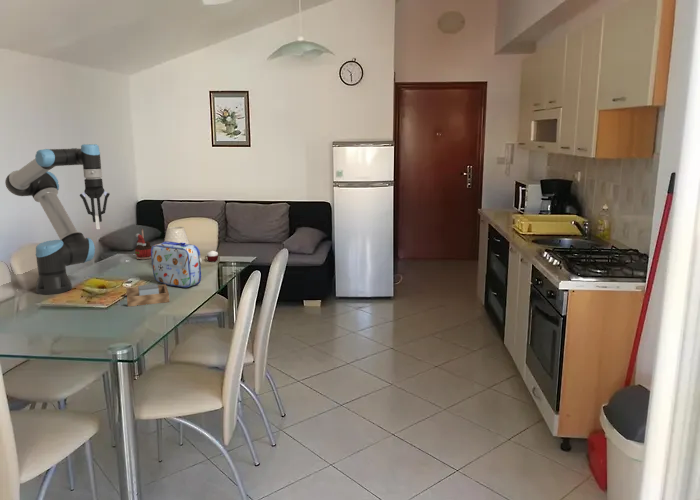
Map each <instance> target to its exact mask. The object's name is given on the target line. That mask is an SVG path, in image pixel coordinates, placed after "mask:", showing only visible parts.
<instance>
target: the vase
mask: <svg viewBox="0 0 700 500" xmlns="http://www.w3.org/2000/svg"><path fill="white" fill-rule="evenodd" d="M166 241H169V242H176V243H185V244H190V245H191V243H190V241H189V237H188V235H187V232H186V229H185V227H184V226H170V227H167V228H166V232H165V236H164V241H163V242H166Z"/></svg>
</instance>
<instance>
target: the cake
mask: <svg viewBox="0 0 700 500" xmlns="http://www.w3.org/2000/svg"><path fill="white" fill-rule="evenodd" d="M135 237H136V238H137V241H136V247H135V251H134V253H135V258H136V259H137V260H149V259H152V258H151V248H152V245H151V242H150V241H145V237H144V228H141V234H140V233H136V234H135Z"/></svg>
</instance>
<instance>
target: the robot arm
mask: <svg viewBox="0 0 700 500" xmlns="http://www.w3.org/2000/svg"><path fill="white" fill-rule="evenodd" d="M80 147H81V148H77V147H75V148H74V147H72V148H45V149H38V150H37V151H36V153H35V158H34V159H33V160H31V161H30V162H29V163H26V165H24V166H23V167H21V168H20V169H19V170H14V171H11V172H10V173H9V174H8V175H7V176H6V178H5V183H4V184H5V186H6V189H7V190H8V191H9V193H11V194H12V195H15V196H18V197H32V198H33V199H34V201H35V202H37V203H40V206H41V207H42V209H43V211H44V213H45V215H46V217H47V218H48V219H49V222H50V223H51V226H52V227H53V229H54V230H55V232H56V234H57V236H58V238H59V239H53V240H47V241H43V242H41V243H39V244H37V245H36V247H35V258H36V264H37V271H38V272H37V273H38V278H37V283H36V287H35V290H36V291H35V292H36V293H37V294H38V295H39V294H40V295H54V294H56V295H57V294H61V293H65V291H66V292H68V290H69V291H71V290H72V289H73V284H72V282H71V279H70V278H69V275H68V274H67V269H66V268H67V267H68V266H73V265H78V264H85V263H87V262H90V261H92V260H93V258H94V257H95V254H96V253H95V251H96V246H95V243H94V241H93V240H92V238H89V237H85V236H84V234H83V233H82V232H80V231H78V230H77V228H76V226H75V224H74V222H73V221H72V220H71V217H70V216H69V214H68V213H67V211H66V209H65V208H64V205H63V203H62V202H61V200H60V198H59V196H58V194H59V189H60V184H59V179H58V178H57V176H56V175H55V174H54V173H53V172H51V170H52V169H54V168H55V167H60V166H61V167H62V166H63V167H64V166H82V169H83V178H84V191H83V192H82V193H80V194H79V197H80V198H81V199H82V202H83V204H84V207H85V209H86V212H87V215H91V217H92V222H93V223H95V228H96V230H101V224H100V223H102V221H103V219H102V217H103V216H102V215H103V214H106V209H107V203H108V198H109V197H110V192H108V191H106V190H105V189H104V183H103V178H102V177H103V172H102V164H101V152H100V146H99V145H98V144H96V143H95V144H93V143H92V144H88V143H87V144H85V143H83V144H81V145H80ZM103 195H104V201H103V206H102V208H101V198H102V196H103ZM86 196H87V197H88V198H89V199H90V206H89V203H88V200H87V198H86ZM95 199H96V203H97V204H96V205H97V214H96V208H95ZM90 207H91V209H90ZM70 289H71V290H70Z"/></svg>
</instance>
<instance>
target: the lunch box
mask: <svg viewBox="0 0 700 500" xmlns="http://www.w3.org/2000/svg"><path fill="white" fill-rule="evenodd" d="M150 259H151V266H152V267H151V268H152V273H153V277H154V279H155V280H156V281H157V282H158V283H160V284H163V285H165V284H166V286H167V285H168V286H170V287H171V286H172V287H179V288H189V287H192V286H195V285H199V284H200V283H201V280H202V269H201V266H202V263H203V260H202V257H201V252H200V249H199V247H198V246H196V245H195V244H191V243H190V244H185V243H176V242H169V241H166V242H164V241H163V242H161V243H157V244H154V245H151V258H150Z"/></svg>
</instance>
